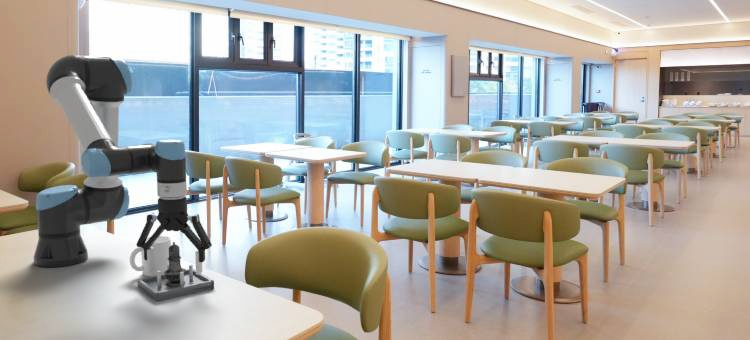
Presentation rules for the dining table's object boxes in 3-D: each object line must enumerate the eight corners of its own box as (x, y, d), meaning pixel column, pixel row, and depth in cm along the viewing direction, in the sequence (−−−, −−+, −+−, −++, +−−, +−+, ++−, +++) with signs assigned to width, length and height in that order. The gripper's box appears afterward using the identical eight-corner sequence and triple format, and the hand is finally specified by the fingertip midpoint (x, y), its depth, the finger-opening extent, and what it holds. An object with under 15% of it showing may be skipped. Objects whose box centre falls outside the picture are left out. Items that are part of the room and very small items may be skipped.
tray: (137, 287, 164) (136, 267, 163) (192, 275, 174) (192, 257, 173) (156, 301, 153) (155, 280, 152) (214, 288, 163) (213, 268, 163)
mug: (135, 282, 168) (134, 247, 166) (125, 275, 174) (123, 241, 172) (176, 273, 176) (175, 239, 174) (165, 266, 182) (163, 234, 180)
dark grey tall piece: (191, 281, 165) (189, 240, 163) (177, 288, 159) (175, 245, 158) (173, 279, 167) (171, 238, 165) (159, 285, 161) (157, 243, 160)
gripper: (121, 198, 157) (125, 275, 160) (212, 200, 155) (214, 278, 158) (134, 193, 164) (138, 266, 167) (221, 195, 163) (223, 269, 166)
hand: (175, 272), depth 163 cm, fingers open, 13 cm apart
